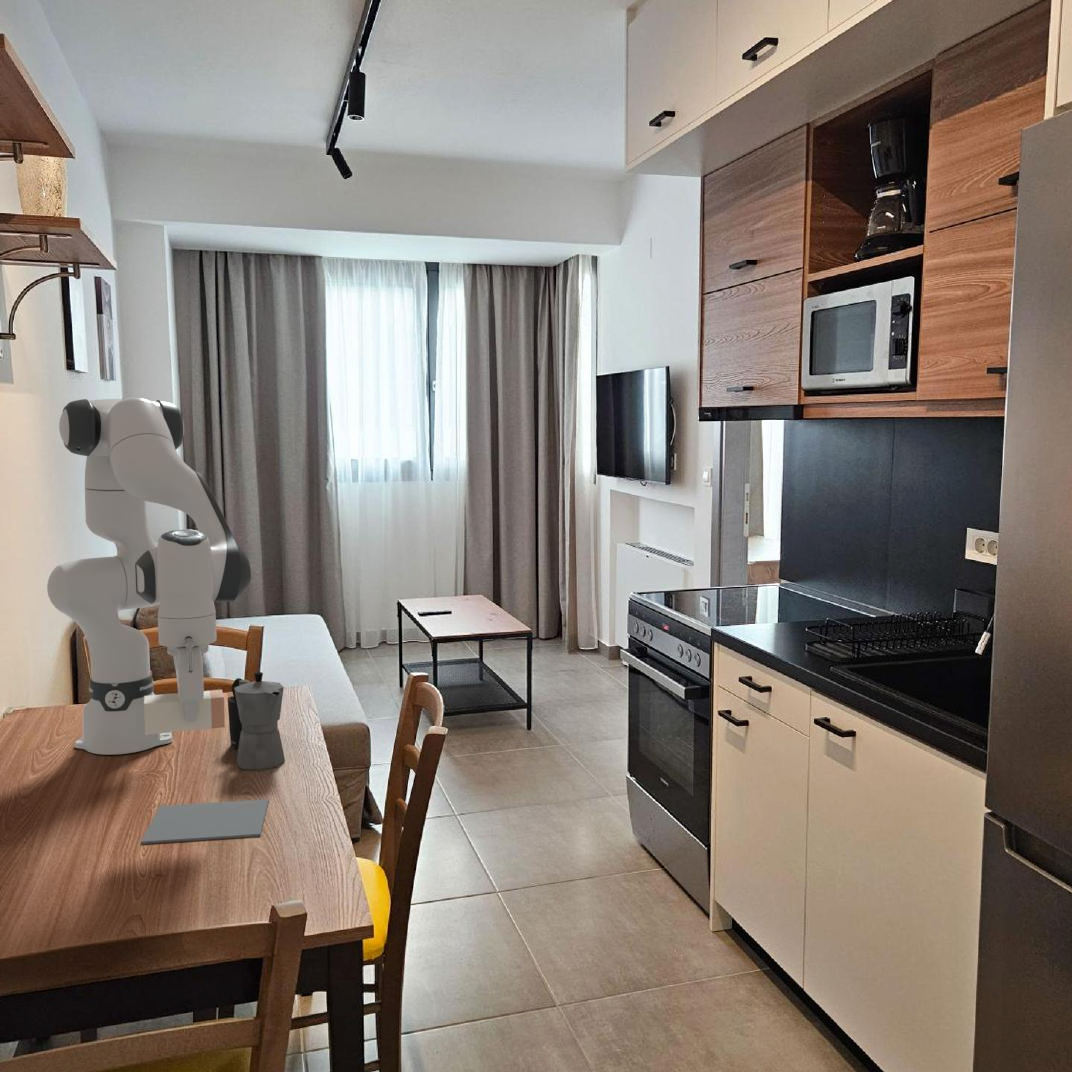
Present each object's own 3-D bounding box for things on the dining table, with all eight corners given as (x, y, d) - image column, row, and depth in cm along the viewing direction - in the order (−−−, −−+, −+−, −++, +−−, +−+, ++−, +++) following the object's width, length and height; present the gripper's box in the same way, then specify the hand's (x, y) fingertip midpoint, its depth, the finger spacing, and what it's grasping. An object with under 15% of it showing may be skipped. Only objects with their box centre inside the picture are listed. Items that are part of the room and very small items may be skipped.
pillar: (144, 695, 159) (221, 689, 163) (145, 725, 159) (222, 718, 164) (144, 703, 154) (223, 697, 159) (145, 734, 155) (224, 727, 159)
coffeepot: (301, 764, 190) (299, 673, 188) (259, 776, 183) (257, 682, 181) (255, 747, 200) (253, 660, 198) (214, 758, 193) (211, 669, 191)
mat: (160, 808, 167) (159, 805, 167) (268, 801, 171) (268, 799, 171) (141, 844, 153) (141, 841, 153) (260, 836, 156) (260, 833, 156)
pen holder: (235, 737, 206) (234, 691, 205) (280, 737, 207) (279, 691, 206) (223, 752, 197) (222, 703, 196) (270, 751, 197) (269, 703, 196)
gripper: (211, 642, 149) (214, 731, 151) (205, 619, 168) (207, 698, 170) (167, 645, 147) (170, 735, 149) (165, 621, 166) (168, 701, 168)
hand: (190, 715), depth 159 cm, fingers closed on pillar, 5 cm apart
